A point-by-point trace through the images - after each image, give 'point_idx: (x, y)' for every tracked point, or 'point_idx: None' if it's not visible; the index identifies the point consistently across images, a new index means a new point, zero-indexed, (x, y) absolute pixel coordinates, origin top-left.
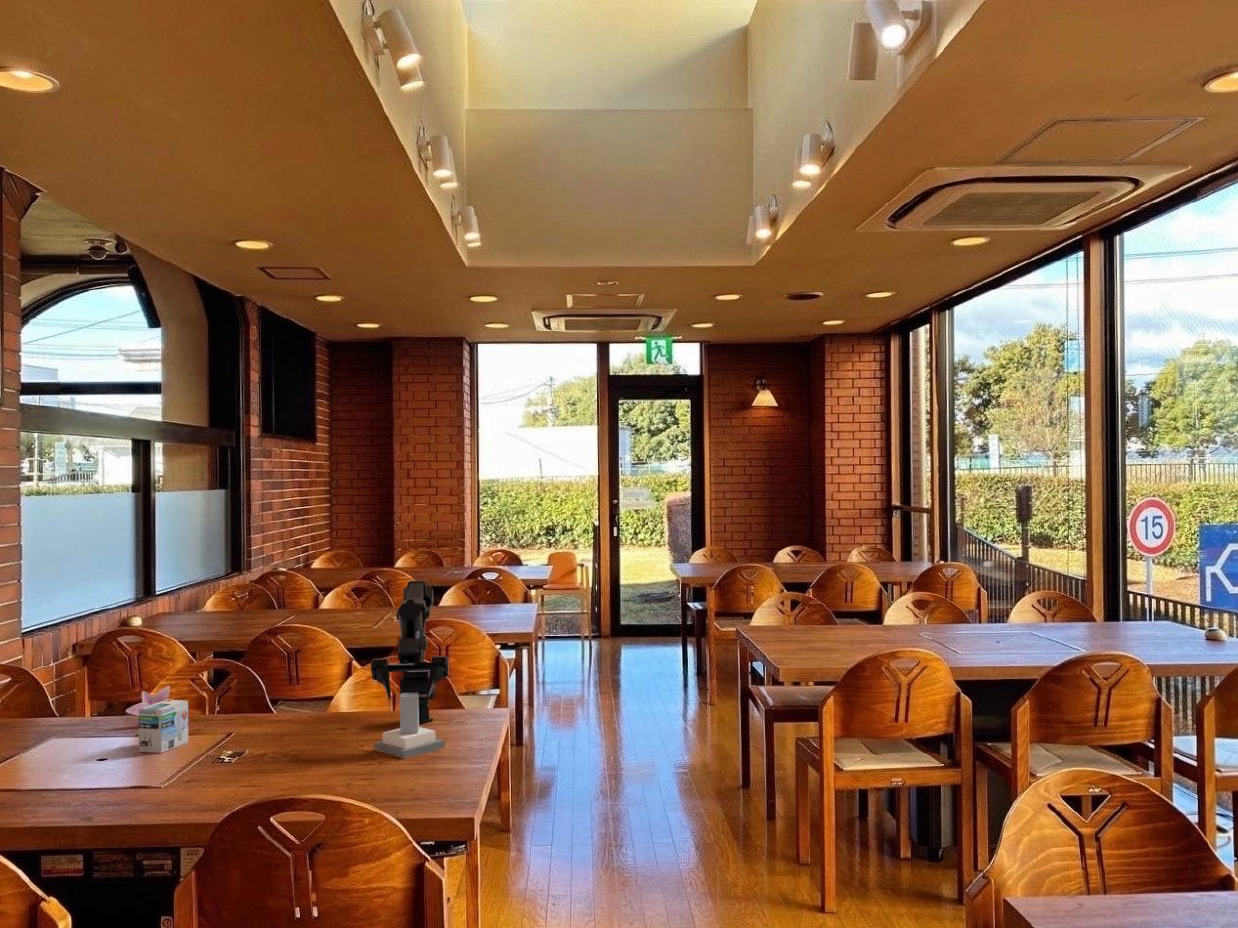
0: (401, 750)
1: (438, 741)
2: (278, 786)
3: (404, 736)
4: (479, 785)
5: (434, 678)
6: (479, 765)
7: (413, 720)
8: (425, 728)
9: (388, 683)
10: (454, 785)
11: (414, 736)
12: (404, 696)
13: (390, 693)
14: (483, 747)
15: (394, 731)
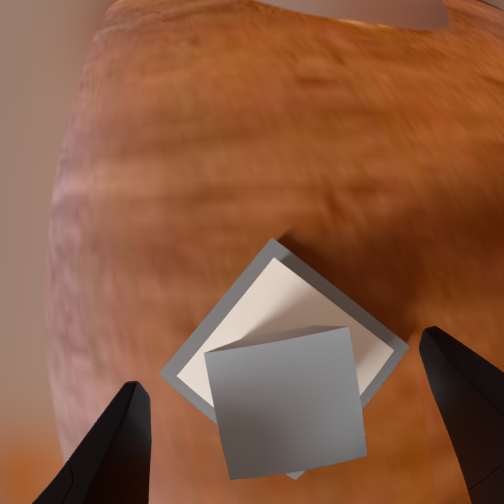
0: (283, 247)
1: (176, 363)
2: (458, 68)
3: (285, 290)
4: (80, 79)
5: (52, 490)
6: (65, 187)
7: (253, 338)
8: None
9: (495, 397)
10: (119, 69)
11: (244, 294)
12: (310, 340)
13: (436, 374)
14: (64, 355)
15: None
